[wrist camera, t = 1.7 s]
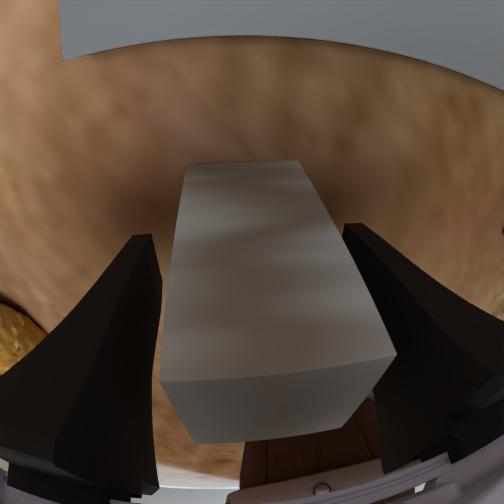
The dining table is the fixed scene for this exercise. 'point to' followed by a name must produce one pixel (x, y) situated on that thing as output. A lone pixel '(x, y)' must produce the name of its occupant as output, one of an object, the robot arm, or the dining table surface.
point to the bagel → (16, 336)
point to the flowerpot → (314, 462)
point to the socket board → (302, 26)
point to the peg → (264, 309)
